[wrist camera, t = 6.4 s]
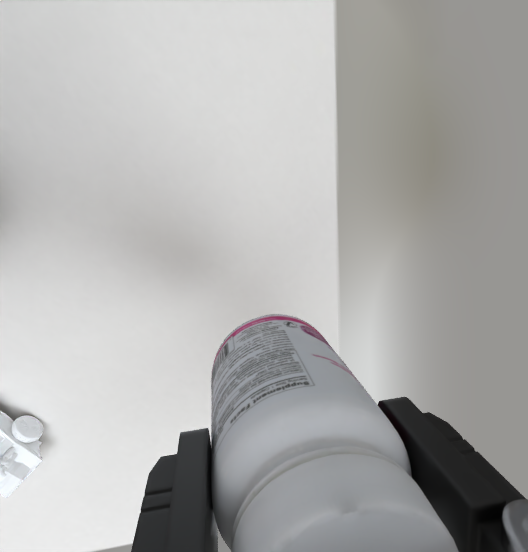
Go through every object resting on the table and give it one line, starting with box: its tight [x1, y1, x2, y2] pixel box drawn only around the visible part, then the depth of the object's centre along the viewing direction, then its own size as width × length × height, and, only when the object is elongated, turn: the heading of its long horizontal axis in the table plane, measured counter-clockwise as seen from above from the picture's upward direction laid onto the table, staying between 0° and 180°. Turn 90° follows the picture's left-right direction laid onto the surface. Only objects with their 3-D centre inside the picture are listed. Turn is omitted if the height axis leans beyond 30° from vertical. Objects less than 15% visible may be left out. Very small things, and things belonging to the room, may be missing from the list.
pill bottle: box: [211, 314, 459, 552], centre depth 10 cm, size 5×5×8 cm
